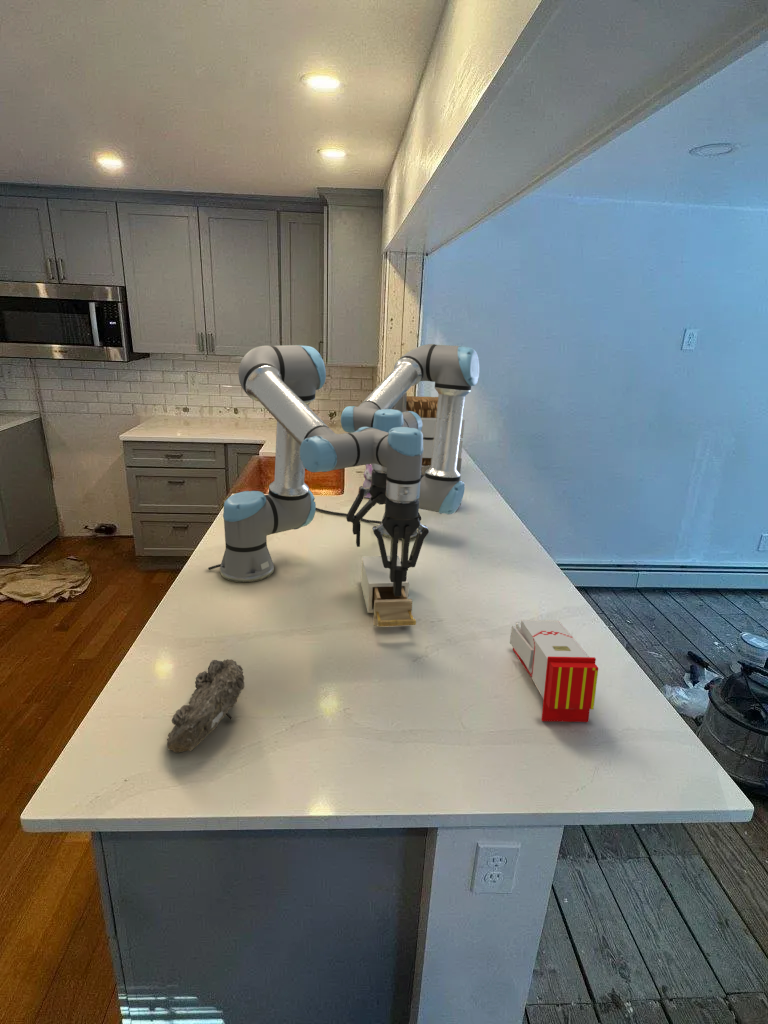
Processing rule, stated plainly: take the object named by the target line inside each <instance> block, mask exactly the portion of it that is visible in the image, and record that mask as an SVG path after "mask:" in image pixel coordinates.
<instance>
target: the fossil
mask: <svg viewBox="0 0 768 1024" xmlns="http://www.w3.org/2000/svg"><path fill="white" fill-rule="evenodd" d="M243 670H244V669H243V667H242V665H240V664H237V662H236V661H235V660H234V659H232V658H231V659H227V658H226V659H224V660H223V661H222V660H217V659H212V660H211V661H210V663H209V665H208V666H207V671H201V672H199V673H198V674H197V675H196V676H195V680H194V684H195V685H194V687H195V689H194V690H193V693H192V694H191V697H190V698H189V700H188V704H184V705H182V706H181V707H180V709H177V710H176V711H175V713H174V715H173V716H172V718H171V723H172V724H173V727H172V730H171V731H170V732H168V734H167V738H166V741H167V742H166V745H167V749H168V750H169V751H173V752H174V753H176V754H178V753H182V752H188V751H189V752H192V751H193V750H195V748H196V747H197V746H199V744H200V743H201V742H203V741H204V740H205V739H206V738H207V737H208V736H209V735H210V734H211V733H212V732H214V730H215V729H217V727H218V726H219V724H220V722H221V721H222V720H223V719H224V718H225V716H226V717H227V719H229V720H233V717H232V715H230V714H229V710H230V709H231V708H234V706H235V704H236V703H237V702H238V699H239V697H240V695H241V693H242V691H243V690H245V689H244V688H245V675H244V671H243Z"/></svg>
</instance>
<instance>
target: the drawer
mask: <svg viewBox="0 0 768 1024" xmlns="http://www.w3.org/2000/svg"><path fill="white" fill-rule="evenodd" d="M372 603H373V607H374V613H373V626H375V627H379V628H380V627H381V628H382V627H400V626H401V627H402V626H403V627H404V626H416V625H417V620H416V618H414V616H413V598H408V599H407V597H406V594H405V591H404V589H403V586H402V590H401V596H395V595H394V592H393V586H391V587H373V591H372Z"/></svg>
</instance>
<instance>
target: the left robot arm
mask: <svg viewBox="0 0 768 1024" xmlns="http://www.w3.org/2000/svg"><path fill="white" fill-rule="evenodd" d="M325 365H326V364H325V362H324V359H323V358H322V356H321V354H320V352H319V351H318V350H317V349H316V348H315V347H313V346H310V345H302V344H289V345H285V344H283V345H260V346H256V347H253V348H252V349H250V350H248V351H247V353H245V354H244V356H243V357H242V358H241V361H240V363H239V366H238V373H237V374H238V375H237V376H238V381H239V385H240V386H241V388H242V389H243V391H244V392H245V394H246V395H247V396H248V397H249V398H250V399H251V400H253V401H254V402H259V403H260V404H261V405H262V406H263V407H264V408H265V409H266V411H268V413H269V414H270V415H271V416H272V417H273V418H274V419H275V421H276V435H275V459H274V480H273V481H272V482H271V483H269V485H268V494H264V492H262V491H260V490H250V491H249V490H244V491H240V492H236V493H234V494H232V495H230V496H228V497H227V498H226V499H225V501H224V502H223V512H222V517H223V525H224V527H223V528H224V541H225V543H224V544H225V549H224V553H223V555H222V559H221V562H220V563H219V564H215V565H212V566H209V567H207V569H208V571H211V570H214V569H218V568H219V570H220V576H221V577H222V578H224V579H225V580H227V581H229V582H234V583H253V582H254V583H255V582H259V581H262V580H265V579H267V578H269V577H270V576H271V575H272V574H273V573H274V570H275V568H274V566H275V565H274V561H273V559H272V558H273V557H272V556H271V553H270V551H269V548H268V544H267V542H268V541H267V536H269V535H274V534H278V533H282V532H283V533H284V532H287V531H292V530H298V529H301V528H304V527H306V526H309V525H310V523H312V521H314V518H315V516H316V511H317V510H316V508H317V506H316V505H317V504H316V501H315V495H314V494H313V492H312V491H311V490H310V487H309V485H308V484H307V483H306V482H305V476H306V470H307V471H308V472H310V473H320V472H321V473H327V472H330V471H336V470H342V469H348V468H354V467H359V466H366V465H367V464H370V465H371V464H378V465H381V466H383V467H386V468H387V476H386V479H387V480H386V497H387V498H386V500H385V504H384V513H385V516H384V519H383V518H382V519H383V520H382V519H381V521H382V524H379V525H373V526H372V528H371V529H372V532H373V534H374V537H376V540H377V544H378V548H379V553H380V556H381V558H382V563H383V566H384V568H389V569H390V576H389V578H390V581H391V582H393V592H394V595H395V596H401V590H402V582H406V579H408V571H409V569H410V568H415V567H416V565H417V562H418V558H419V556H420V553H421V549H422V547H423V543H424V540H425V538H427V536H428V534H429V533H430V530H429V528H428V526H427V525H425V524H422V523H421V524H420V522H421V521H419V519H418V513H419V514H420V511H419V510H420V509H419V500H418V498H419V497H420V481H421V474H422V473H421V472H422V468H423V466H422V455H423V450H424V449H423V434H422V432H421V431H420V430H418V429H415V428H409V427H395V428H392V429H390V431H389V433H388V432H384V431H381V430H379V429H376V428H373V427H371V428H370V427H361V428H359V429H358V430H356V431H355V432H352V433H349V432H343V433H335V431H334V430H333V429H331V428H330V427H329V426H328V425H327V424H326V423H325V422H324V421H323V420H322V419H321V418H320V417H319V416H318V414H317V413H315V412H314V411H313V410H312V409H311V408H310V404H311V403H312V402H313V401H314V400H316V393H317V391H319V390H321V389H322V388H323V387H324V385H325V384H326V378H327V372H326V371H327V370H326V366H325ZM384 528H385V529H386V531H387V532H388V534H389V535H390V536H391V539H390V549H389V550H390V553H389V556H390V561H388V559H387V556H388V555H387V550H386V544H385V541H384V536H383V534H384V531H383V530H384ZM417 528H418V529H417ZM416 529H417V532H418V533H417V535H416V538H415V539H414V542H413V545H412V548H411V550H410V541H411V540H410V537H411V536H412V534H413V533H414V532H415V531H416ZM399 538H402V540H401V550H400V551H401V552H400V561H401V566H397V556H398V549H399V542H400V540H399ZM409 550H410V552H409ZM409 553H410V554H409Z"/></svg>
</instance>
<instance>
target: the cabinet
mask: <svg viewBox="0 0 768 1024" xmlns="http://www.w3.org/2000/svg"><path fill="white" fill-rule="evenodd" d="M387 559H388V561H390V555H387ZM397 566H401V558H400V557H399V555H397ZM360 569H361V570H360V586H361V591H362V595H363V599H364V603H365V607H366V612H367V614H374V607H373V603H372V591H373V587H391V586H393V582H391V581H390V578H389V576H390V569H389V568H384V566H383V563H382V558H381V555H370V556H369V555H366V556H365V555H364V556H363V555H362V556H361V565H360ZM402 586H403V589H404V591H405V594H406V597H407V599H409V588H410V581H409V578H407V579H406V582H402Z"/></svg>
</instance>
